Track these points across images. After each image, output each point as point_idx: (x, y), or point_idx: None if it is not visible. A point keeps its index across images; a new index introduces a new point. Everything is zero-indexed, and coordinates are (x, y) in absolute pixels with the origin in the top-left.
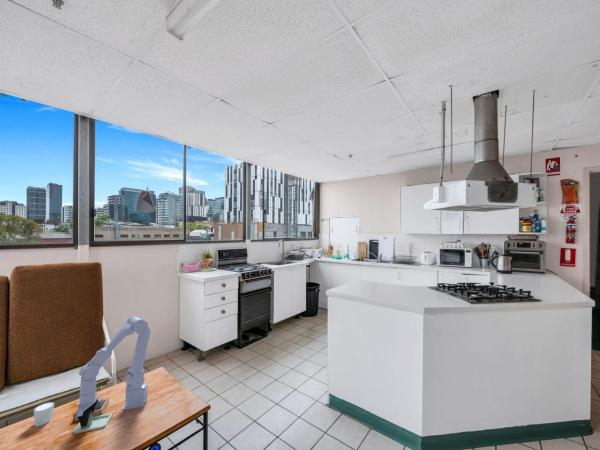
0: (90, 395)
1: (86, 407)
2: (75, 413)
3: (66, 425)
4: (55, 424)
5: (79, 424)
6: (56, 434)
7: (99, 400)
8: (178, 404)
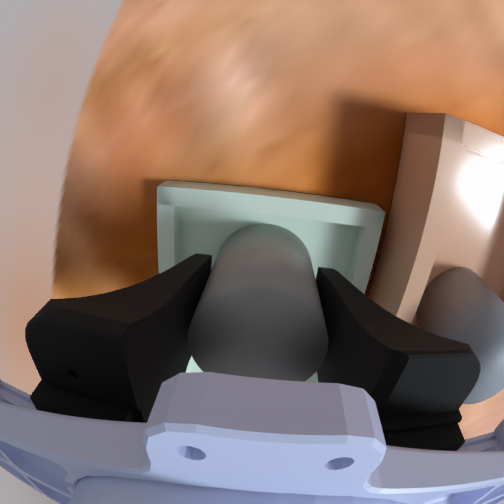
0: None
1: (42, 493)
2: (30, 321)
3: (368, 66)
4: None
5: (274, 213)
6: (238, 22)
7: (488, 379)
8: None
